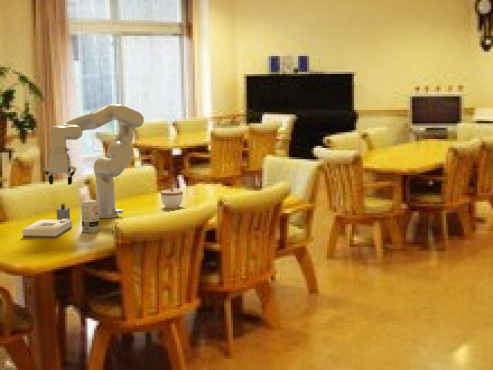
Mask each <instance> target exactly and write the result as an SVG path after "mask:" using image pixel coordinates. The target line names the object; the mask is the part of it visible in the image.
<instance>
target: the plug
mask: <svg viewBox="0 0 493 370" xmlns="http://www.w3.org/2000/svg"><path fill="white" fill-rule="evenodd" d="M70 209H71V208H70V207H66V205H65V203H61V204H60V207H59V208H57V209H56V220H62V219H69V220H71V214H70V213H71V212H70Z"/></svg>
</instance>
